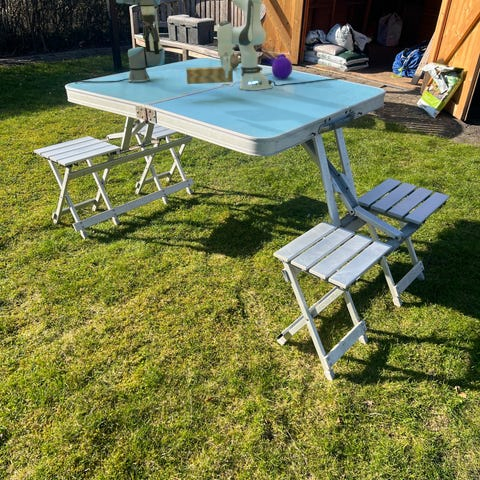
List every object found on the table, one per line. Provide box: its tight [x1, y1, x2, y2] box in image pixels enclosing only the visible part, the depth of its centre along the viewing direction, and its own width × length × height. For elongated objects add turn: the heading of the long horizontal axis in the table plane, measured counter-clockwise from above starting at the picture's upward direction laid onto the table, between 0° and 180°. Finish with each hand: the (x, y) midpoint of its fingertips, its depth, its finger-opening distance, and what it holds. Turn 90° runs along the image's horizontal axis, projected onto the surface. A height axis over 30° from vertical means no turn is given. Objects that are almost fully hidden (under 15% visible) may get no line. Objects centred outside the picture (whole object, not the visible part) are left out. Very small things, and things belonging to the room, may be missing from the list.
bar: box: [185, 66, 234, 85], centre depth 272 cm, size 28×6×8 cm, turn 98°
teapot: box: [220, 51, 241, 70], centre depth 371 cm, size 21×12×15 cm, turn 120°
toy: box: [260, 53, 293, 80], centre depth 336 cm, size 16×18×27 cm
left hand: (152, 53), depth 276 cm, fingers open, 13 cm apart
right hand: (225, 76), depth 274 cm, fingers closed on bar, 6 cm apart
